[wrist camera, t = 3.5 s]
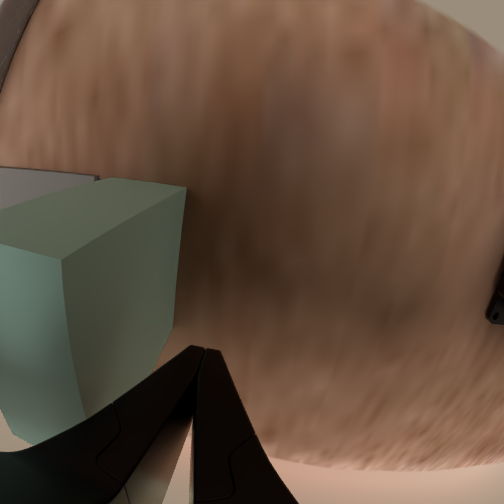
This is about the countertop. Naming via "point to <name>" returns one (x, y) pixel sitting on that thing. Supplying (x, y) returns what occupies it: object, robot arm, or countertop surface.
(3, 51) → the stone block
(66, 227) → the slab
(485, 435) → the countertop surface
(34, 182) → the mat
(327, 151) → the countertop surface
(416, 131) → the countertop surface
